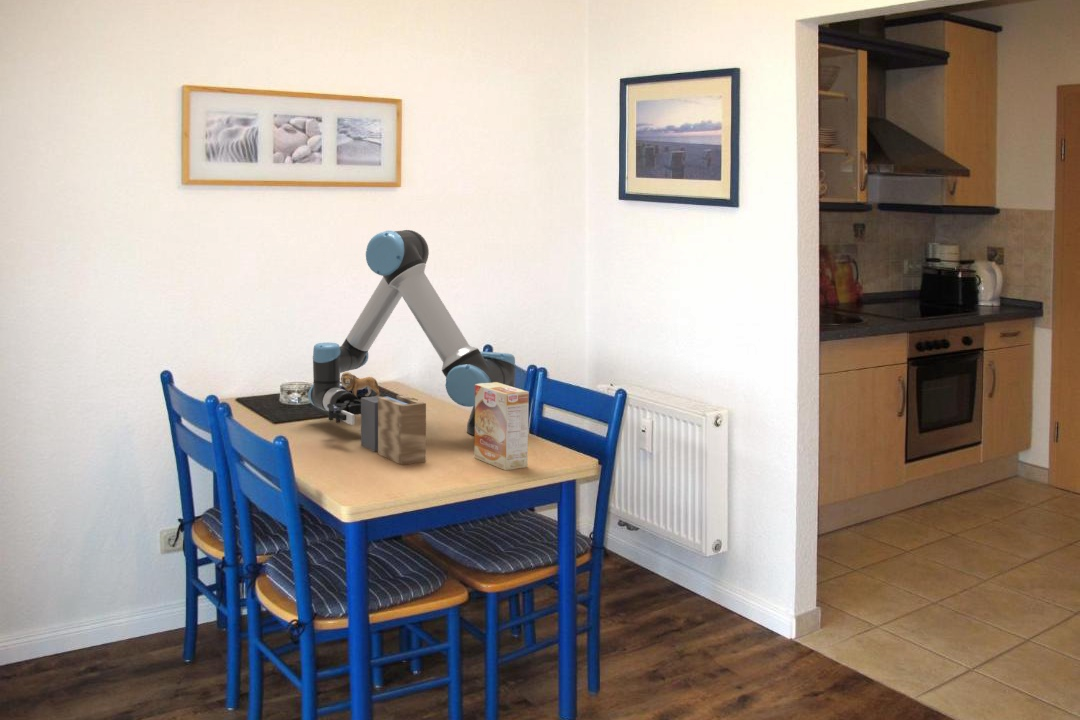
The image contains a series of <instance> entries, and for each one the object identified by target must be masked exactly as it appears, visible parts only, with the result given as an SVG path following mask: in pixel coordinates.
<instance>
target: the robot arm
mask: <svg viewBox="0 0 1080 720" xmlns="http://www.w3.org/2000/svg"><path fill="white" fill-rule="evenodd" d="M429 250H430V249H429V245H428V243H427V241H426V239H425V238H424V236H422V234H420V233H419V232H417V231H415V230H410V229H404V230H385V231H383V232H379V233H376V234H375V235H374V236H372V237H371V238H370V240H369V242H368V243H367V246H366V251H365V261H366V263H367V266H368V267H369V270H371V271H372V272H373V273H374V274H376V275H378V276H381V277H382V278H381V280H380V281H379V283H378V285H377V286H376V288H375V290H374V291H373V293H372V295H370V298H369V299H368V301H367V303H366V304H365V306H364V308H363V310H362V311H361V313H360V314H359V316H358V318H357V319H356V321H355V323H354V324H353V325H352V328H351V330H350V331H349V333H348V334H347V336H346V338H345V339H344V340H343V343H342V344H341V345H339V344H338V343H337V342H318V343H315V345H314V346H313V349H312V350H313V353H312V354H313V355H312V372H313V373H312V375H313V376H312V377H313V384H312V385H311V386H310V388H309V390H308V394H307V398H308V400H309V403H310V404H311V405H312V406H313V407H315V408H316V409H319V410H321V411H324V412H326V413H327V415H328V421H330V422H331V421H334V419H335V423H336V424H340V423H341V421H342V422H344V423H346V424H348V425H351V426H356V425H355V420H356V418H355V416H356V415H361V399H359V397H358V396H356V395H357V394H356V395H355V394H353V392H352V393H351V392H349V390H346V389H344V388H341V374H343V373H345V372H349V371H352V370H353V371H354V370H357V369H360V368H361V367H363V366H364V365H366V364H367V362H368V360H369V350H370V349H371V347H372V345H373V344H374V342H375V341H376V340H377V337H378V336H379V334H380V333H381V331H382V329H384V326H385V325H386V323H387V321H388V320H389V319H390V316H391V315H392V313H393V311H394V310H395V308H396V307H397V305H398V304H399V302H400V300H401V299H403V300H404V302H405V303H406V305H407V307H408V308H409V310H410V312H411V313H412V314H413V316H414V318H415V319H416V321H417V323H418V324H419V326H420V328H421V329H422V332H423V333H424V334H425V336H426V337H427V339H428V340H429V342H430V344H431V345H432V347H433V349H434V350H435V352H436V353H437V355H438V356H439V358H440V360H441V361H442V366H441V367H442V368H441V373H442V374H443V375H444V377H445V384H444V385H445V390H446V393H447V394H448V396H449V398H450V399H451V400H452V401H453V402H454V403H456V404H458V405H460V406H462V407H469V408H471V407H472V408H471V412H470V415H469V418H468V419H467V420H468V421H467V424H466V425H467V426H466V433H468V434H469V435H472V436H475V384H480V383H493V382H498V383H501V384H505V385H508V386H511V387H515V388H516V367H517V366H516V357H515V356H514V355H513V353H509V352H508V353H507V352H493V351H480V348H478V347H475V346H471V344H469V342H468V341H467V339H466V337H465V336H464V334H463V333H462V331H461V329H460V328H459V327H458V325H457V323H456V321H455V320H454V318H453V316H452V315H451V314H450V312H449V310H448V309H447V307H446V305H445V304H444V303H443V300H442V299H441V297H440V296H439V294H438V293H437V291H436V290H435V288H434V286H433V284H432V283H431V281H430V280H429V278H428V276H427V275H426V274H425V269H426V266H427V265H426V264H427V262H428V259H429V255H430V254H429Z"/></svg>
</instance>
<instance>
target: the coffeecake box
mask: <svg viewBox="0 0 1080 720" xmlns="http://www.w3.org/2000/svg"><path fill="white" fill-rule="evenodd" d="M529 398H530V391H528V390H524V389H521V388H518V387H516V386H515V387H511V386H508V385H505V384H501V383H498V382H493V383H480V384H475V435H474V449H473V450H474V451H473V452H474V453H473V455H474V456H473V459H476V460H479V461H481V462H483V463H486V464H488V465H491V466H494V467H496V468H498V469H501V470H503V471H511V470H512V471H513V470H516V469H525V468H528V461H529V460H528V456H529V455H528V454H529V453H528V451H529V448H528V446H529V445H528V444H529V405H530V404H529Z"/></svg>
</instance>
